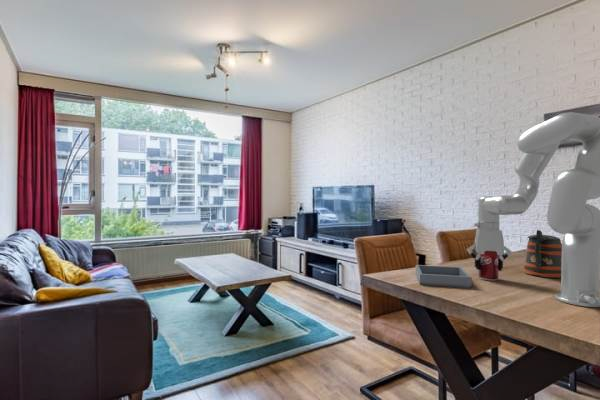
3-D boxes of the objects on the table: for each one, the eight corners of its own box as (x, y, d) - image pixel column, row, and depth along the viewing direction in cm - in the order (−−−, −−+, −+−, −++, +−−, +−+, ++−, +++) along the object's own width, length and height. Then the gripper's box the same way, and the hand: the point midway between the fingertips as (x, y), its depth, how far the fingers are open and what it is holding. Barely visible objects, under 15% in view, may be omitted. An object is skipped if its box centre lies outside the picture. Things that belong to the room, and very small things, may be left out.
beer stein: (562, 282, 132) (563, 232, 132) (518, 276, 142) (519, 229, 141) (566, 274, 146) (567, 228, 146) (526, 269, 156) (527, 226, 155)
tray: (471, 288, 123) (471, 277, 123) (419, 284, 128) (419, 274, 128) (460, 276, 141) (460, 267, 141) (415, 274, 145) (415, 264, 145)
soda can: (493, 277, 140) (493, 248, 140) (502, 281, 133) (502, 251, 133) (475, 276, 141) (475, 248, 141) (483, 280, 134) (483, 250, 134)
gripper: (467, 226, 135) (467, 270, 135) (516, 227, 131) (516, 272, 131) (463, 225, 143) (463, 266, 143) (509, 226, 138) (509, 269, 138)
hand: (488, 269), depth 137 cm, fingers closed on soda can, 7 cm apart
